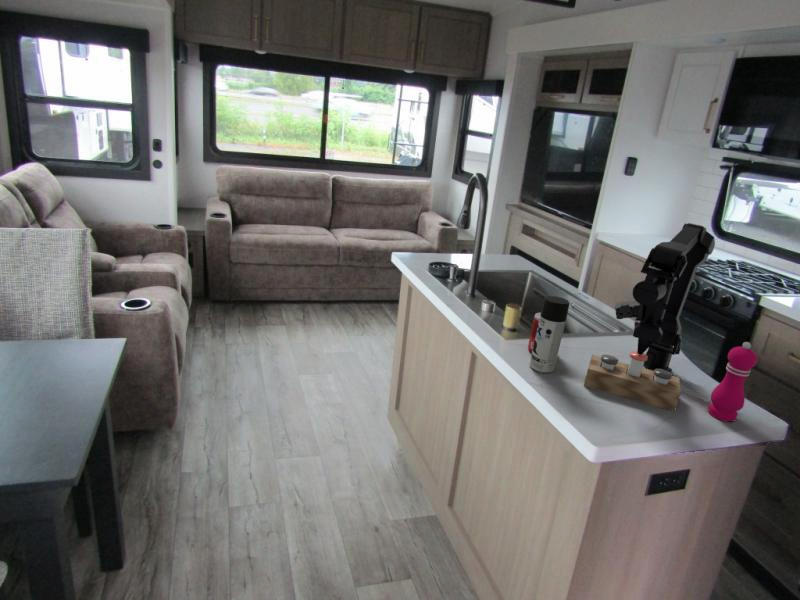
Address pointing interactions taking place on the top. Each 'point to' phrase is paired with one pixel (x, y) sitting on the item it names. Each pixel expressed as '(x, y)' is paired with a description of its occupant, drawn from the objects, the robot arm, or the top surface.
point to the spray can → (549, 334)
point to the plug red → (636, 363)
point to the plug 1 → (608, 361)
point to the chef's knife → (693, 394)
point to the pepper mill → (732, 384)
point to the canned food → (534, 331)
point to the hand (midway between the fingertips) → (639, 353)
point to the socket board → (633, 384)
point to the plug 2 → (662, 376)
